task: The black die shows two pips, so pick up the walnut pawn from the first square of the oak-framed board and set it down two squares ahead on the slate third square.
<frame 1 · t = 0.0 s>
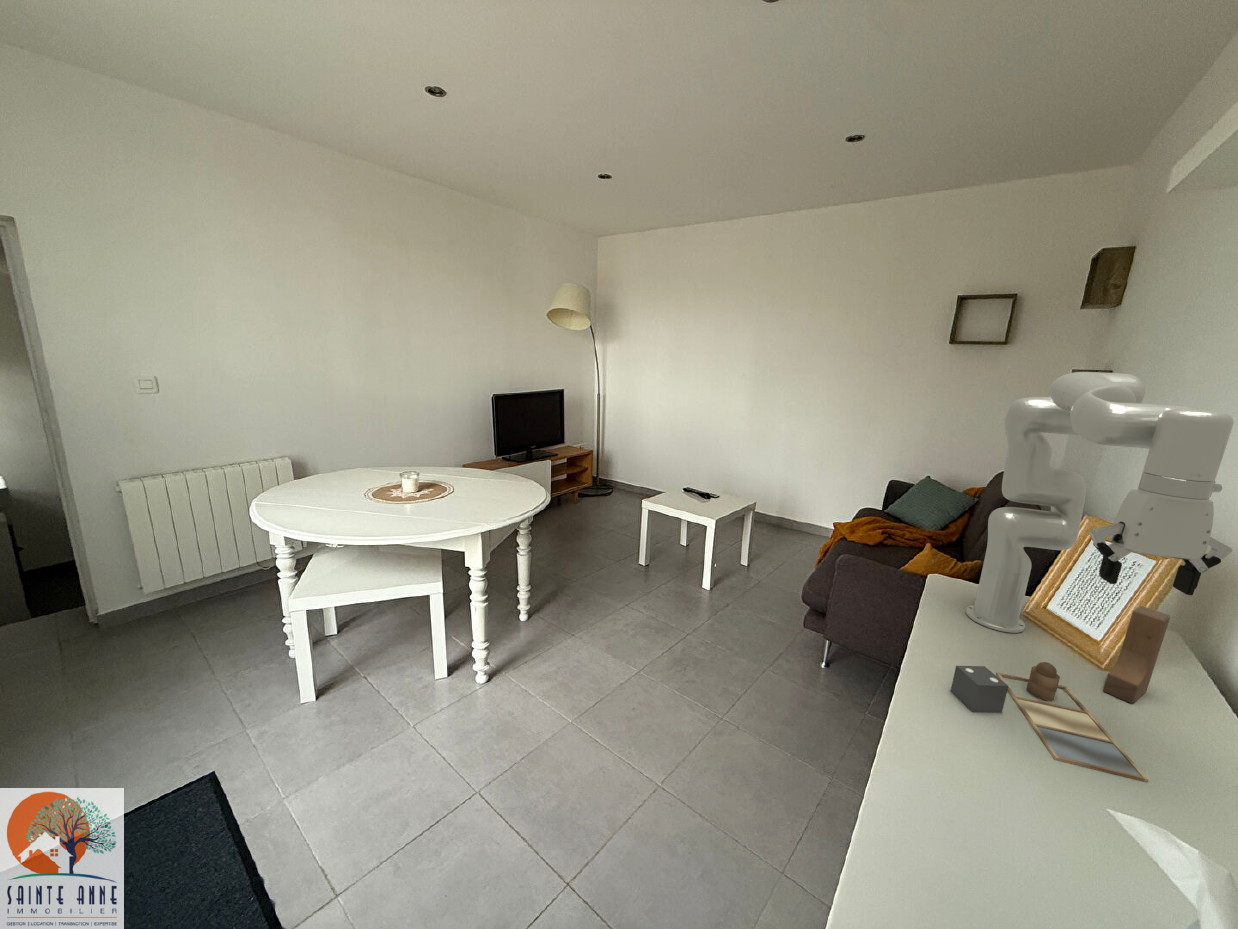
hand: (1144, 586, 79), 31 cm above the sideboard, tool pointing down, fingers open, 9 cm apart
die: (975, 701, 95), on the sideboard
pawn: (1040, 694, 98), resting on board
wooden block: (1124, 692, 100), on the sideboard
board: (1060, 720, 91), on the sideboard
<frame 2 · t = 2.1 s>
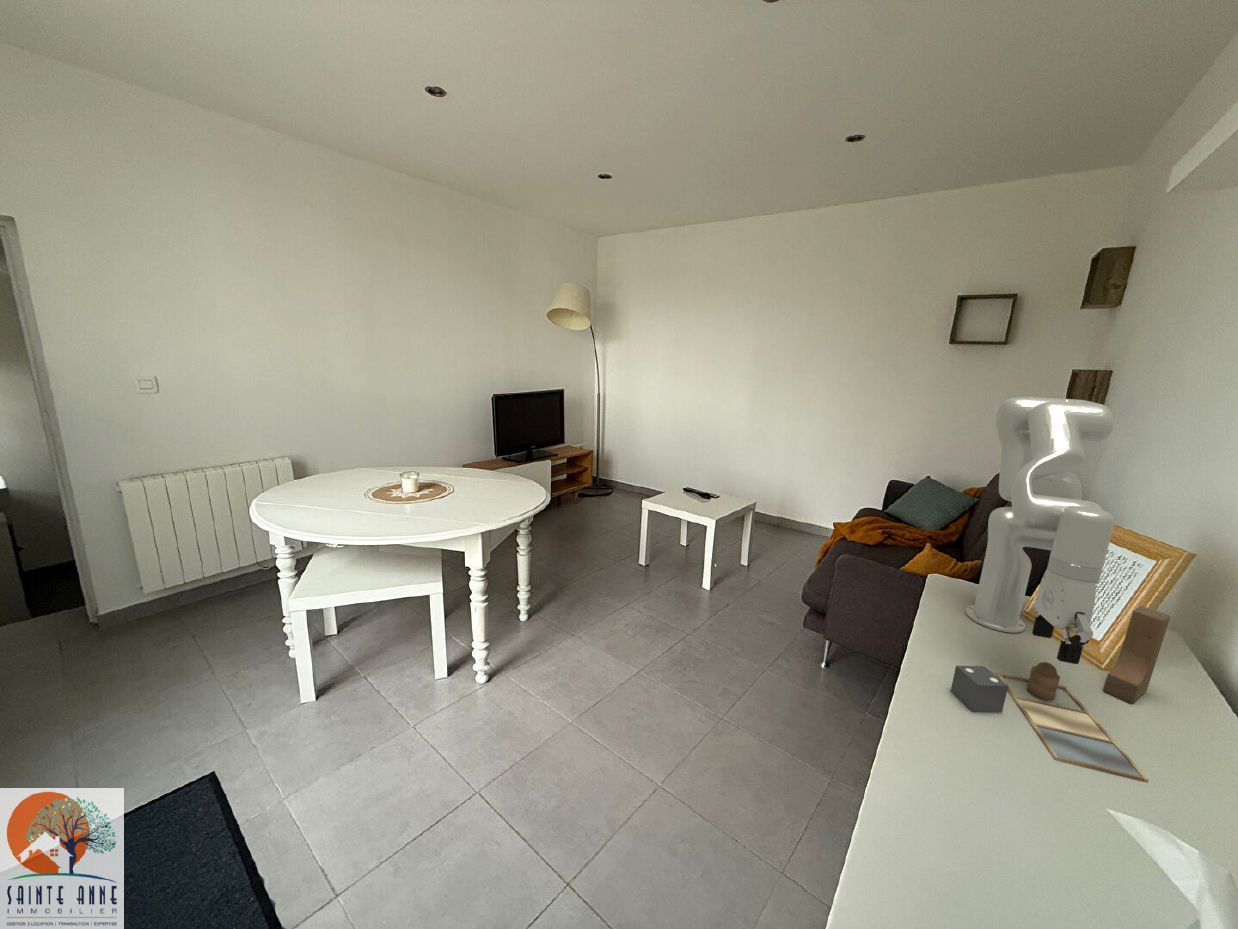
hand: (1053, 648, 95), 11 cm above the sideboard, tool pointing down, fingers open, 9 cm apart
nothing on the sideboard moved.
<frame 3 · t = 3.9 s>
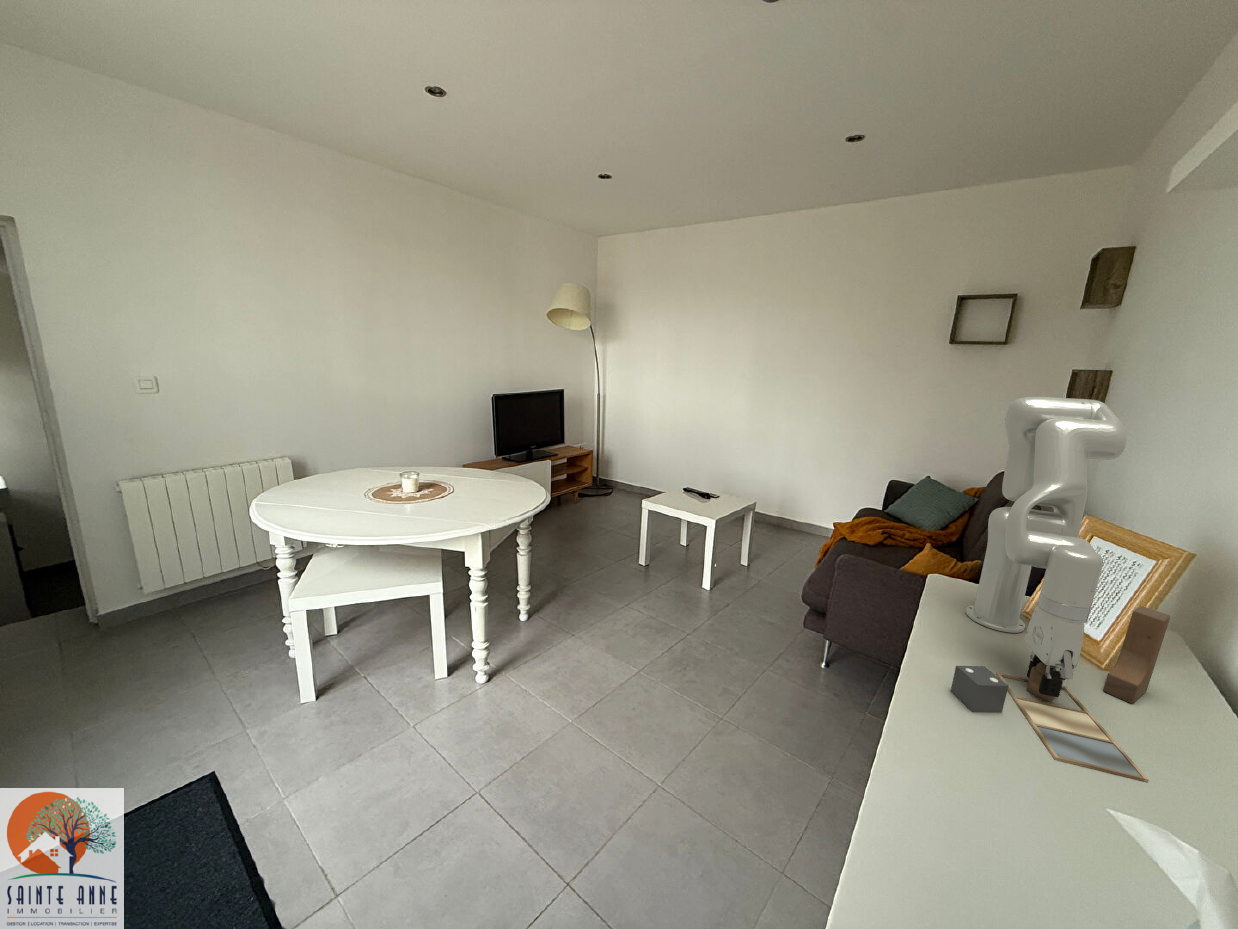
hand: (1042, 686, 98), 2 cm above the sideboard, tool pointing down, fingers closed on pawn, 4 cm apart
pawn: (1040, 694, 98), resting on board, touching gripper
everything else where it was.
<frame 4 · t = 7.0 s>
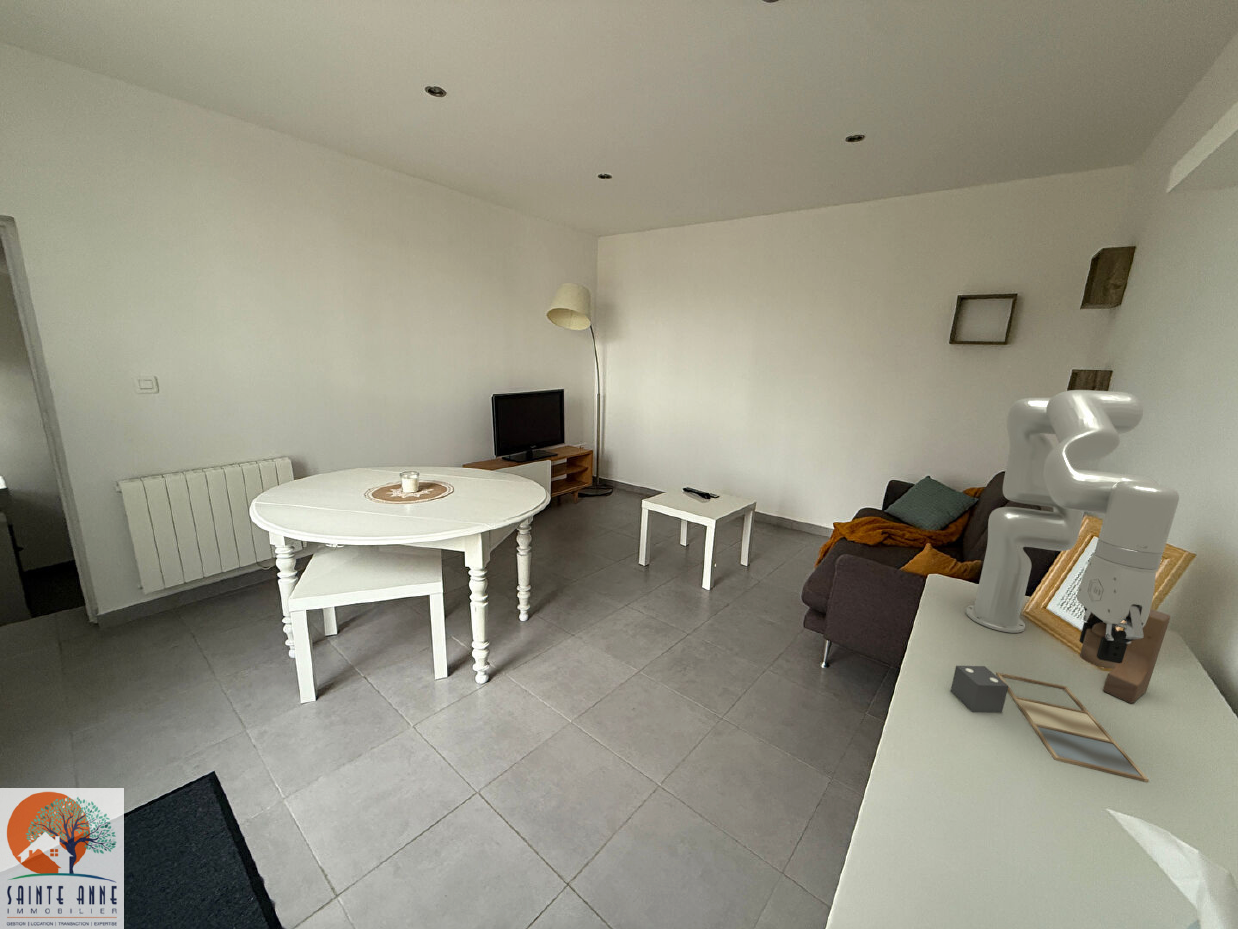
hand: (1099, 651, 83), 18 cm above the sideboard, tool pointing down, fingers closed on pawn, 4 cm apart
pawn: (1096, 660, 83), point 16 cm above the sideboard, touching gripper
everything else where it was.
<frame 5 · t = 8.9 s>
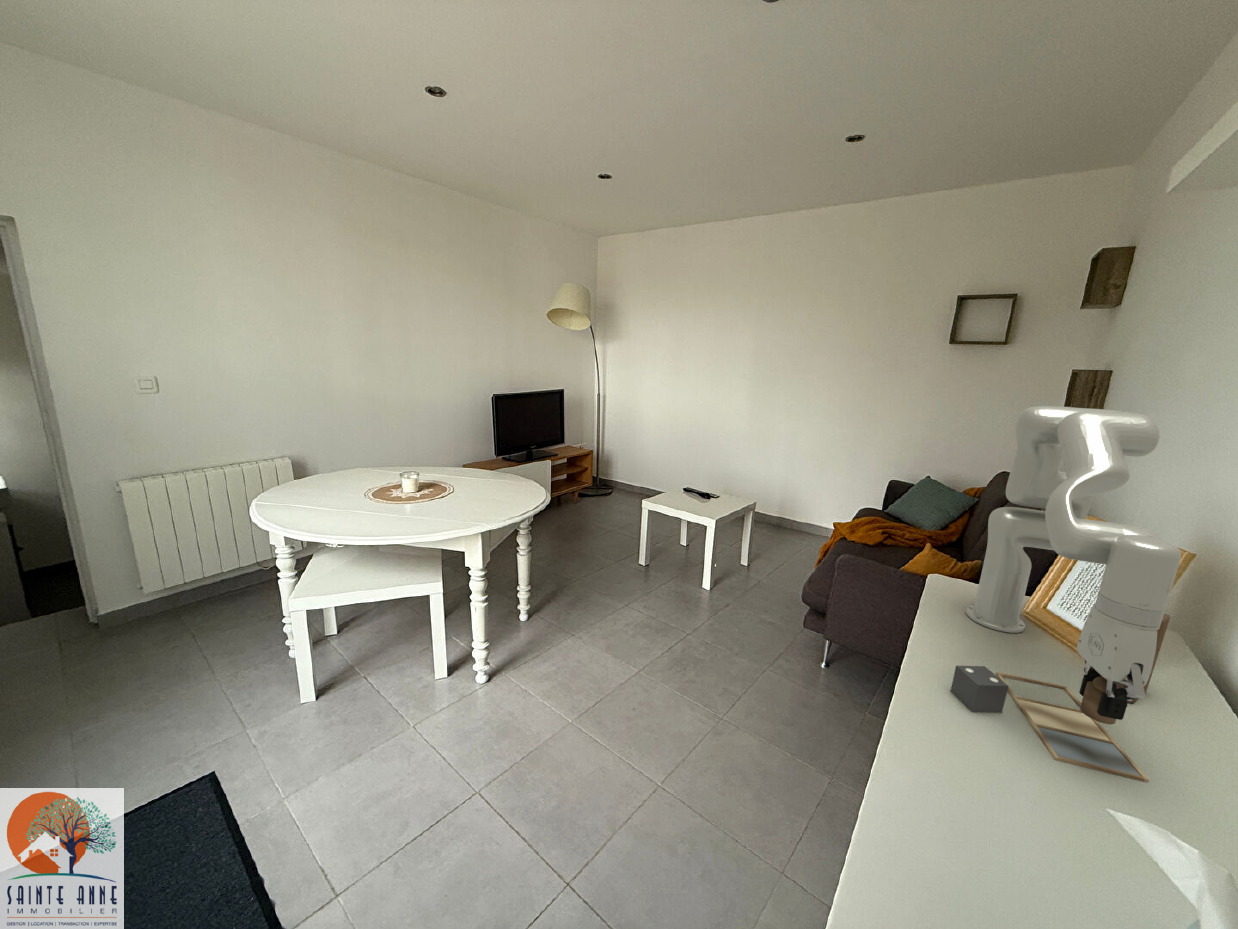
hand: (1100, 705, 81), 10 cm above the sideboard, tool pointing down, fingers closed on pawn, 4 cm apart
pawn: (1097, 715, 82), point 8 cm above the sideboard, touching gripper
everything else where it was.
when the fingers open (4 cm above the sideboard, at t = 10.3 s): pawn drops 1 cm, resting on board.
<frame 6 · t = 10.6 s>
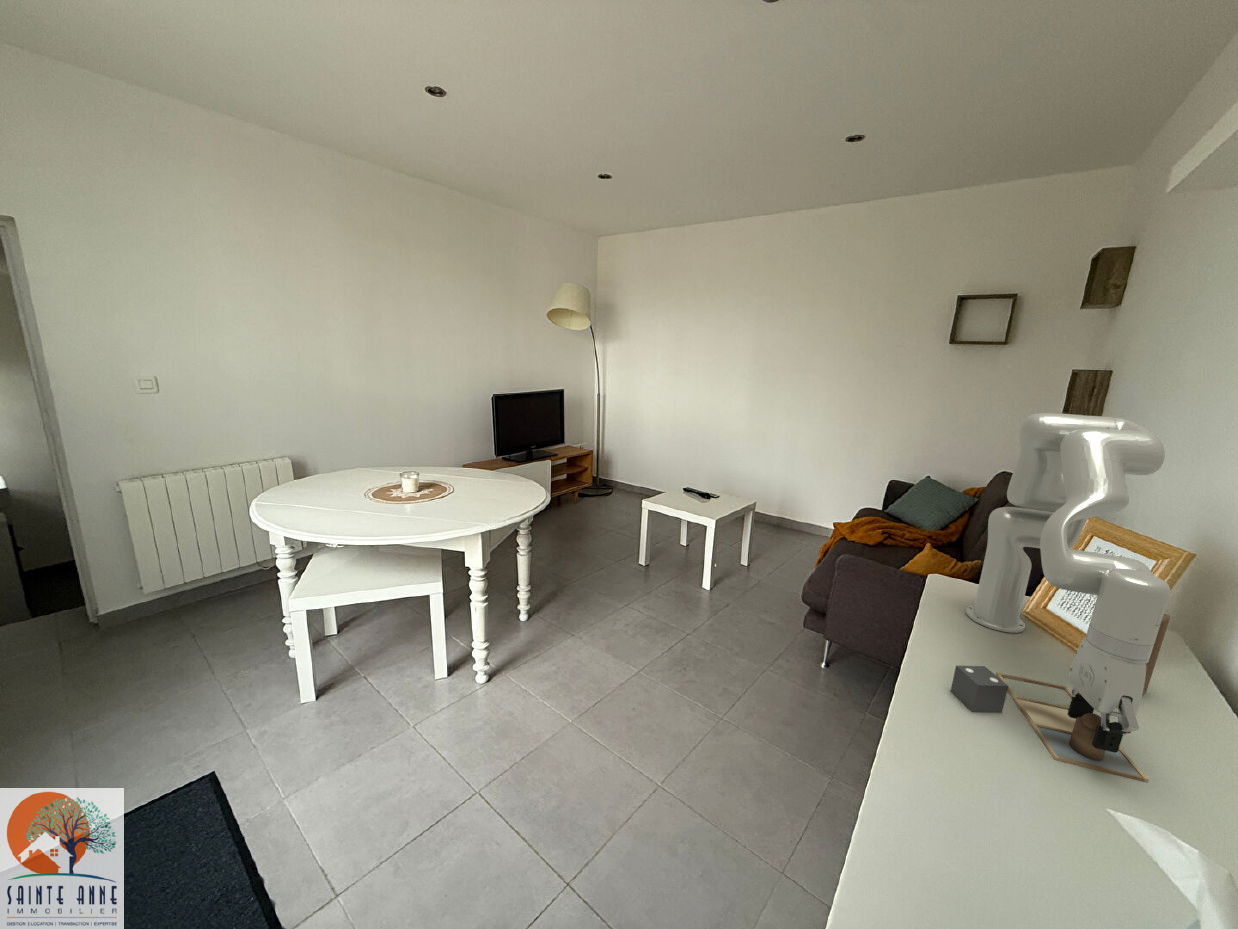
hand: (1091, 732, 83), 4 cm above the sideboard, tool pointing down, fingers open, 6 cm apart
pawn: (1085, 750, 84), resting on board
everything else where it was.
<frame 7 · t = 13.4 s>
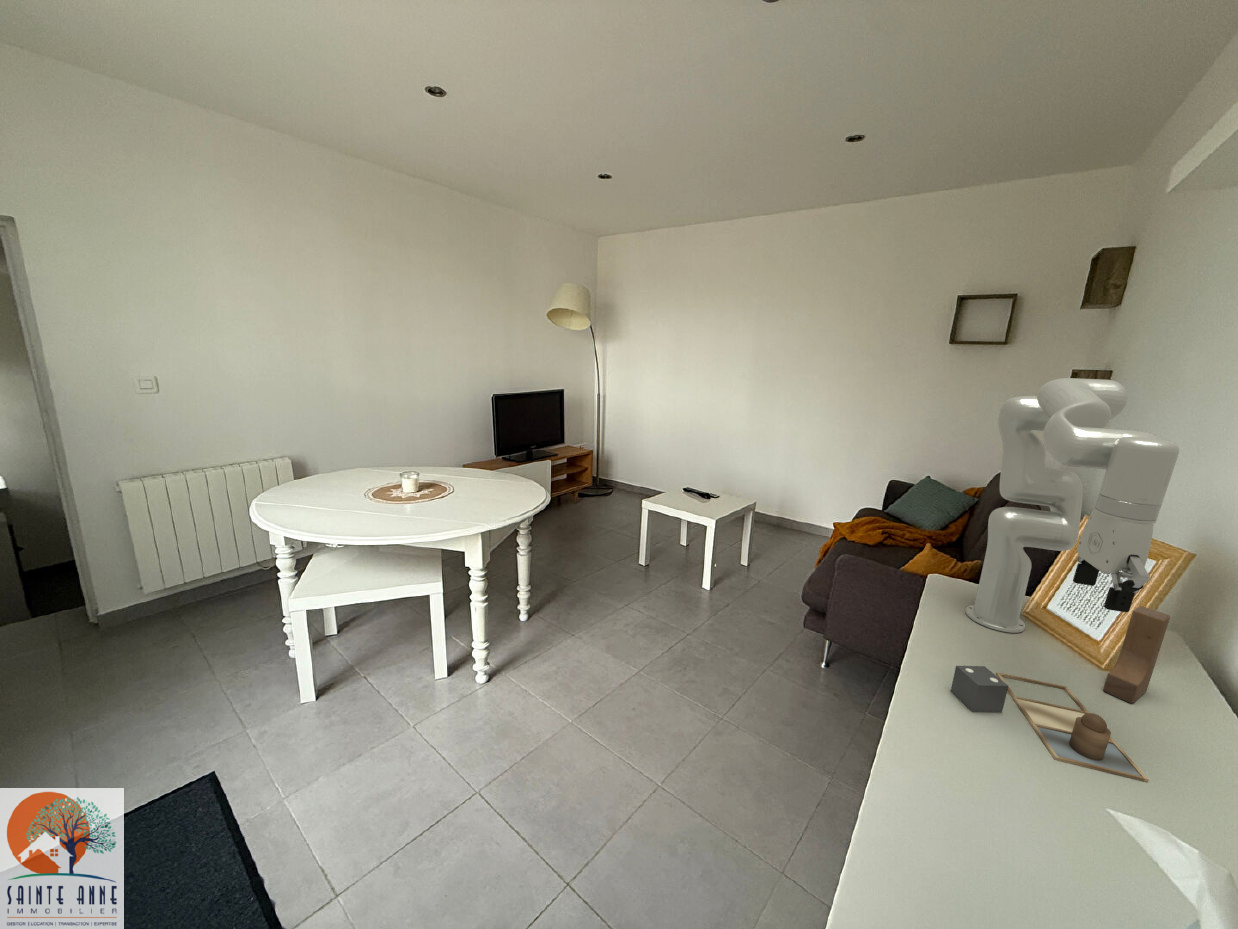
hand: (1098, 596, 86), 26 cm above the sideboard, tool pointing down, fingers open, 9 cm apart
nothing on the sideboard moved.
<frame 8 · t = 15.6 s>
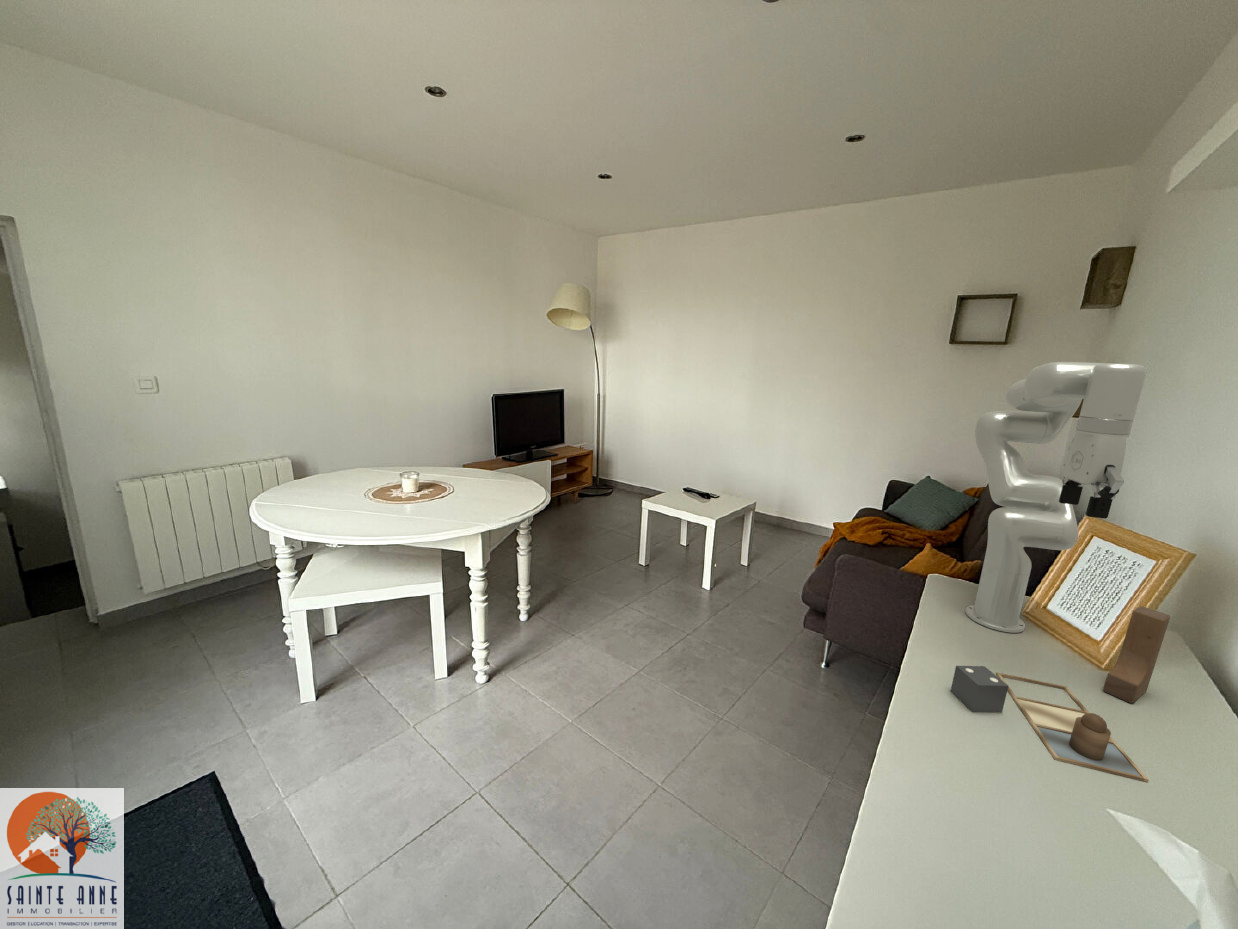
hand: (1081, 510, 97), 38 cm above the sideboard, tool pointing down, fingers open, 9 cm apart
nothing on the sideboard moved.
at the end: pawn 0.0 cm from the target spot, resting on board; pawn tilted 0°; the gripper is holding nothing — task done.
